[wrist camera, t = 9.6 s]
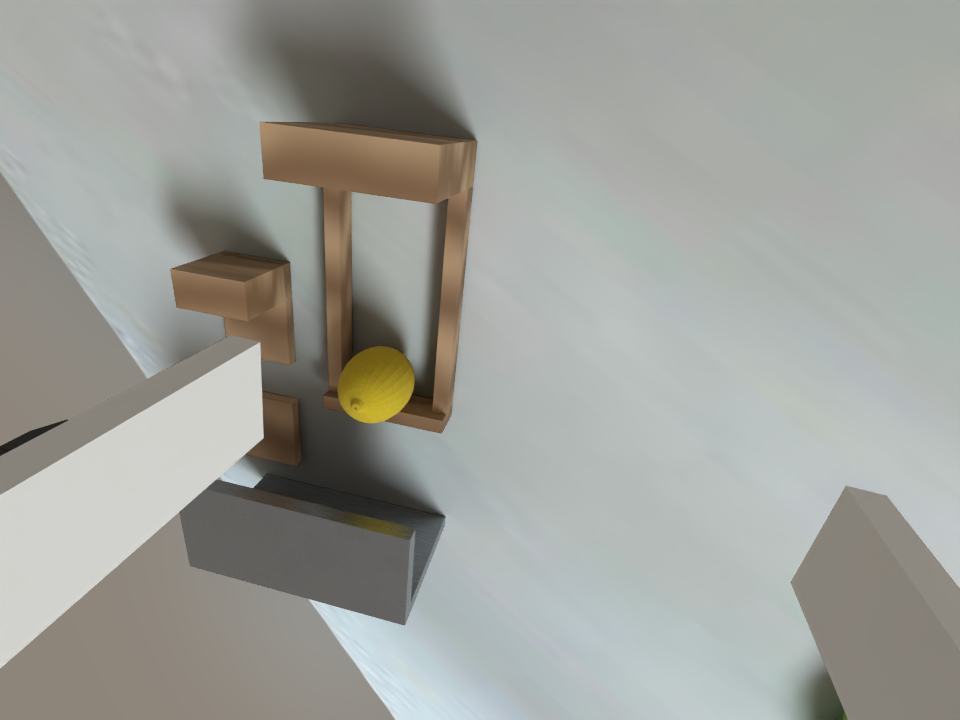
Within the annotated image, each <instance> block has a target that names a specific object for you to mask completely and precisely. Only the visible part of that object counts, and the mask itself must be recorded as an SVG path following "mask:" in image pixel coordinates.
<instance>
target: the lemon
mask: <svg viewBox="0 0 960 720" xmlns="http://www.w3.org/2000/svg"><path fill="white" fill-rule="evenodd" d="M414 383H415V376H414V370H413V368H412V365H411V363H410V362H409V360H408V359H407V357H406V356H404V355H403V354H402V353H401V352H399V351H398V350H396V349H393V348H390V347H387V346H376V347H371V348H367V349H365V350H363V351H361V352H359V353H358V354H356V355H355V356H354V357H353V358H352V359H351V360H350V361H349V362H348V363H347V365H346V366H345V368H344V370H343V372H342V374H341V376H340V378H339V382H338V388H337V390H338V398H339V401H340V404H341V406H342V407H343V409H344V410H345V411H346V412H347V414H348V415H350V416H351V417H352V418H354V419H356V420H358V421H360V422H364V423H378V422H382V421H385V420H388V419H389V418H391V417H393V416H394V415H396V414H397V413H399V412H400V411H401V410H402V408H403V407H404V406H405V405H406V404H407V403H408V401H409V399H410V397H411V395H412V392H413V390H414Z"/></svg>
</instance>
